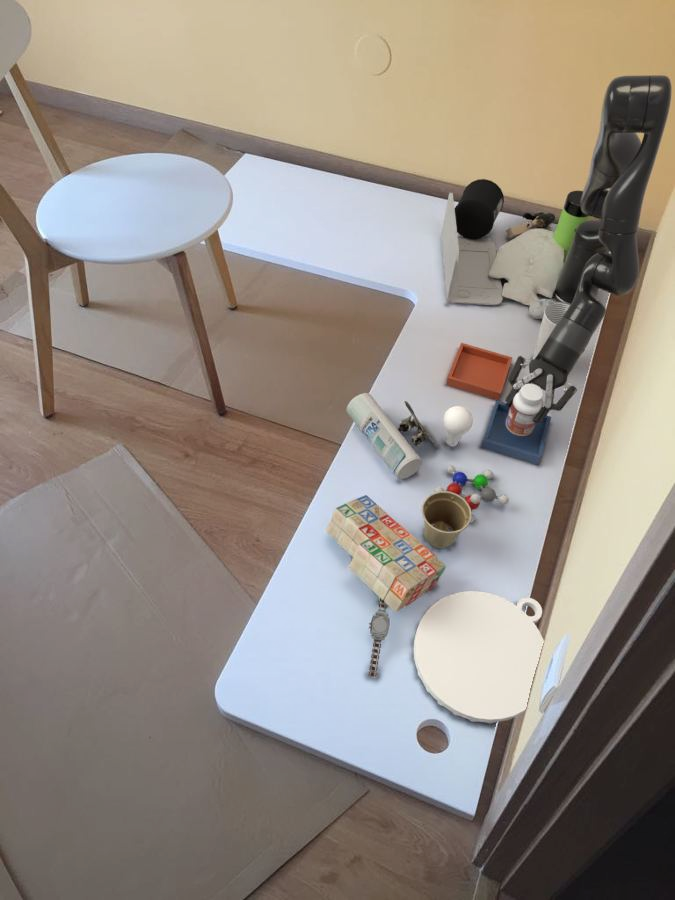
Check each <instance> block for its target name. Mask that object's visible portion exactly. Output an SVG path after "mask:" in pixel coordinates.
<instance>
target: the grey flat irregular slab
mask: <svg viewBox="0 0 675 900" xmlns="http://www.w3.org/2000/svg"><path fill="white" fill-rule="evenodd" d="M554 234H555V231H554V230H549V229H546V228H542V229H539V228H533V229H529V230H527V231H526V232H524V233H523V234H521V235H519V236H516V237H513V239H511V240H509V241H507V242H506V243H504V244H501V246H500V247H499V249H498V251H497V252H496V254H497V256H496V259H495V261H494V263H493V264H492V267H491V269H490V271H489V276H491V277H493V278H500V279H504V280H506V281H507V282H504V284H503V286H502V296H503V298H507V299H510V300H513V301H516V302H517V303H520V304H523V305H526V306H529V307H530V306H531V305H532V304H533V303H534V302H536V301H538V300H541V299H540V297H538V295H540V296H543V297H546V298H547V299H552V298H553V297H554V291H555V289H556V285H557V282H558V279H559V276H560V274H561V271H562V268H563V265H564V262H565V261H563V259H564V249H563V248H562V247H561V246H560V245H558V244H557V243H556V241H555V240H554Z"/></svg>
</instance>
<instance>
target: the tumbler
mask: <svg viewBox="0 0 675 900" xmlns="http://www.w3.org/2000/svg"><path fill="white" fill-rule="evenodd" d="M582 193H583V190H572V191H570V192H569V193H567V196H566V199H565V202H564V204H563V207H562V210H561V213H560V216H559V219H558V222H557V225H556V228H555V231H554V232H555V234H554V240H555V241H556V243H557V244H558V245H560V246H561V247H562V248H563V249H564V259H563V262H565V260H566V257H567V254H568V251H569V249H570V246H571V243H572V240H573V237H574V235H575V232H576V229H577V227H578V226H579V225H580V224H581V223H583V222H585V221H590V218H591V216H589V215H586V214H585V213H583V212H582V211H581V208H580V201H581V197H582Z"/></svg>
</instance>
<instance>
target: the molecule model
mask: <svg viewBox="0 0 675 900" xmlns="http://www.w3.org/2000/svg"><path fill="white" fill-rule="evenodd" d="M445 472H446V474H448V475H453V476H452V483H449V484H448V486H447V487H446V489H444V488H443V487H441V486H437V487H435V488H434V491H433V493H435V492H439V491H448V492H452V493H455V494H457V495H459V496H461V497H462V498H463V499H464V500H465V501H466V502H467V503H468V505H469V506H470V509H471V513H472V516H471V521H470V523H469V524H472V523H474V522H475V520H476V516H475V515H474V514H473V510H476V509H478V508H479V507H480V505H481V501H483V502H485V503H492V502H494V501H495V500H498V501H499V504H501V505H504V506H505V505H507V504H509V502H510V497H509V496H508V495H506V494H502V495H500V496H498V495H497V492H496V490H495V489H494V488H493V487H489V486H488V485H489V480H490V479H491V480H492V478H493V477H494V472H493V471H492V470H491V469H486V470H485V471H484V472H483V474H481V473H479V474H477V475H476V476H474V478H468V476H467V475H466V473H464V472H462V471H457V472H456V467H455V466H454V465H452V464H449V465H447V466H446V468H445ZM467 483H473V486H474V488H476V489H478V490H481V492H480V494H479V493H473V494H468V495H467V496H466V495H465V494H463V489H462V487H464V486H465V485H467Z"/></svg>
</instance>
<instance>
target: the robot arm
mask: <svg viewBox="0 0 675 900" xmlns="http://www.w3.org/2000/svg"><path fill="white" fill-rule="evenodd" d="M671 101H672V82H671V79H670V78H669V76H667V75H662V74H661V75H660V74H659V75H655V74H654V75H653V74H651V75H647V74H646V75H621V76H618V77H615V78H613V79H612V80H611V81H610V82H609V84H608V86H607V87H606V90H605V93H604V96H603V100H602V106H601V112H600V113H601V114H600V123H599V130H598V134H597V138H596V141H595V145H594V147H593V148H594V149H593V151H592V156H591V161H590V167H589V174H588V177H587V179H586V183H585V185H584V188H583V190H582V191H583V193H582V197H581V201H580V208H581V211H582V212H583V213H585V214H586V215H589V216H590V217H592V218H595V219H591V220H590V219H589V221H585V222H583V223H581V224H580V225H579V226H578V227H577V229H576V232H575V235H574V237H573V240H572V243H571V246H570V249H569V251H568V254H567V257H566V260H565V261H563V262H564V265H563V268H562V271H561V274H560V276H559V279H558V282H557V285H556V289H555V291H554V293H553V297H554V298H555V299H556V300H557V302H562V303H567V304H570V306H569V308H568V309H567V311H566V312H565V314H564V316H563V317H562V319H561V320H560V321H559V323H558V324H557V325H556V326H555V328H554V329H553V331H552V332H551V334H550V336H549V337H548V339H547V340H546V342H545V344H544V345H543V347H542V348H541V350H540V352H539V353H538V355H537V356H536V358H535V359H533V358H532V359H531V360H530V359H527V358H525V357H523V356H522V355H519V356H517V358H516V360H515V362H514V365H513V366H512V369H511V370H510V373H509V375H508V377H507V382H508V383H509V384H510V385H511V389H510V391H509V393H508V394H507V396H506V397H505V401H504V403H506V405H507V406H508V407H510V406H511V404H512V401H513V399H514V396H515V395H516V394H517V393H518V392H520V390H521V388H522V386H523V385H525V384H535V385H537V386H539V387H540V388H541V389H542V391H543V392H545V400H544V401H545V402H544V405H543V406H542V408H541V410H540V411H539V413H538V414H537V416H536V417H535V419H534V421H533V422H534V423H536V424H538V422H542V421H543V420H544V419H545V417H546V415H547V416H548V414H549V412H550V411H557V412H560V411H562V409H563V408H564V407H565V406H566V405H567V404H568V402H569V401H570V400H571V399H572V397H574V395H575V394H576V393H577V391H578V388H577V387H576V386H575V385H572V384H571V383H569V382H568V377H569V375H570V374H571V372H572V370H573V368H574V367H575V365H576V364H577V362H578V361H579V359H580V358H581V356H582V355H583V354H584V352H585V351H586V348H587V347H588V345H589V343H590V341H591V339H592V337H593V335H594V333H595V332H596V330H597V329H598V327H599V325H600V324H601V322H602V321H603V320H604V317H605V316H606V313H607V308H606V306H605V305H604V304H603V303H602V302H601V301H599V300H598V293H599V290H601V291H604V292H607V293H609V294H611V295H614V296H625V295H627V294H629V293H630V292H631V291H633V289H634V287H635V286H636V284H637V282H638V279H639V274H640V260H639V258H640V257H639V248H638V240H637V236H638V229H639V225H640V218H641V214H642V207H643V203H644V198H645V194H646V190H647V187H648V184H649V181H650V178H651V175H652V172H653V168H654V165H655V162H656V159H657V156H658V153H659V148H660V145H661V141H662V139H663V135H664V131H665V128H666V124H667V122H668V121H667V120H668V117H669V112H670V108H671ZM638 134H643V137H642V140H641V138H640V137H639V135H638ZM526 367H528V372H529V374H527V375H526V376H524V377H522V378H521V379H520V380H518V377H519V376H520V373H521V371H522V369H525V368H526ZM517 380H518V381H517ZM563 386H564V388H563V393H564V394H563V395H562V396H561V397H560V399H558V401H557V402H556V403H554V398H555V391H556V389H559V388H562V387H563Z"/></svg>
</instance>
